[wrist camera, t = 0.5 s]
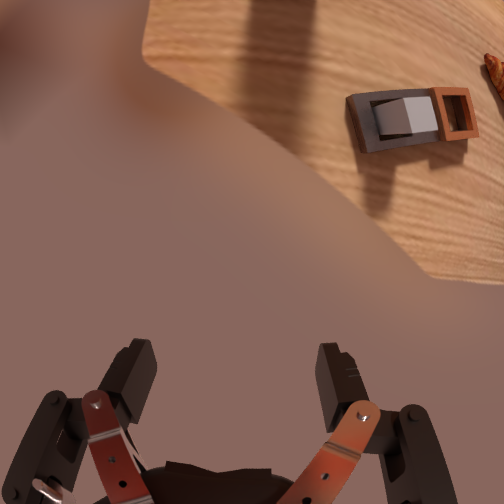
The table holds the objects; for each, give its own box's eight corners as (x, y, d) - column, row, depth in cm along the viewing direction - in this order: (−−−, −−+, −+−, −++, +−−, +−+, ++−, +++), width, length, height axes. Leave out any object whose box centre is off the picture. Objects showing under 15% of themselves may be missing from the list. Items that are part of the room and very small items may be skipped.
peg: (392, 105, 31) (429, 96, 22) (398, 131, 32) (438, 130, 23) (368, 108, 32) (403, 98, 22) (375, 135, 33) (412, 133, 24)
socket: (457, 90, 29) (471, 88, 25) (467, 136, 31) (482, 136, 28) (345, 97, 31) (355, 92, 27) (360, 152, 34) (372, 153, 30)
